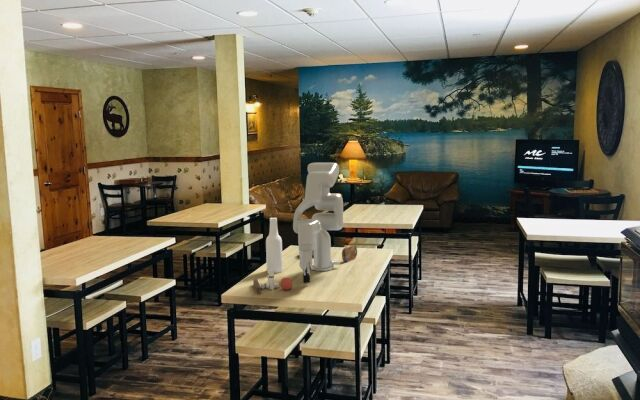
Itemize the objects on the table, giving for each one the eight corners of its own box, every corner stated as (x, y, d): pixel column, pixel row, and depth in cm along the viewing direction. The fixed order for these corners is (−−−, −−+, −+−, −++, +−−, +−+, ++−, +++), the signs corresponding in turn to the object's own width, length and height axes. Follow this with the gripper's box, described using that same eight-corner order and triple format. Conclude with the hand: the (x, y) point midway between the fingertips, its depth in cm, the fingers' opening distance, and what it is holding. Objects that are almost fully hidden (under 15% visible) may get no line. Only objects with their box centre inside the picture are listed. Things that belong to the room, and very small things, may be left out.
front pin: (278, 281, 267) (261, 283, 265) (278, 283, 264) (261, 285, 263) (278, 286, 267) (261, 287, 266) (278, 288, 265) (261, 289, 263)
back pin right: (272, 285, 269) (272, 269, 268) (273, 287, 267) (272, 270, 266) (267, 286, 269) (267, 269, 268) (268, 287, 266) (267, 270, 265)
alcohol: (280, 273, 292) (278, 219, 288) (264, 273, 293) (263, 219, 289) (284, 269, 300) (283, 216, 296) (269, 269, 302) (267, 216, 298)
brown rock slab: (345, 263, 313) (345, 249, 312) (340, 262, 315) (340, 248, 314) (357, 257, 326) (357, 244, 325) (353, 257, 328) (353, 243, 326)
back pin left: (274, 288, 264) (273, 271, 263) (274, 290, 262) (274, 273, 261) (268, 288, 264) (268, 272, 263) (269, 290, 261) (269, 273, 260)
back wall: (257, 284, 272) (257, 278, 271) (260, 293, 256) (260, 287, 256) (253, 284, 271) (253, 279, 271) (256, 294, 256) (256, 288, 256)
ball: (276, 282, 264) (286, 279, 267) (281, 293, 261) (291, 290, 265) (281, 276, 259) (291, 274, 263) (286, 287, 257) (296, 284, 261)
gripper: (296, 244, 273) (296, 279, 276) (301, 250, 259) (302, 287, 261) (310, 243, 275) (310, 278, 277) (316, 249, 260) (317, 286, 263)
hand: (306, 282), depth 269 cm, fingers closed
